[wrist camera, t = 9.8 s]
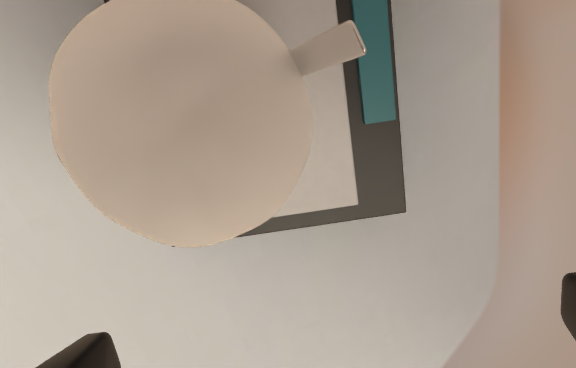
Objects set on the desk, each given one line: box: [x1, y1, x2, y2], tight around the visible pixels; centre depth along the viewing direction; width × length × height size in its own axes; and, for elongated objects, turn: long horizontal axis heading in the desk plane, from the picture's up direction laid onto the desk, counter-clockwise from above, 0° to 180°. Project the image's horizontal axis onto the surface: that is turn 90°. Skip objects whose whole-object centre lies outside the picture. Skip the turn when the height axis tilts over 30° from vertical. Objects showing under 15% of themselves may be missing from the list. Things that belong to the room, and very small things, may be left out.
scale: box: [104, 0, 406, 247], centre depth 16 cm, size 10×13×3 cm
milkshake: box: [49, 0, 366, 247], centre depth 10 cm, size 4×5×10 cm
